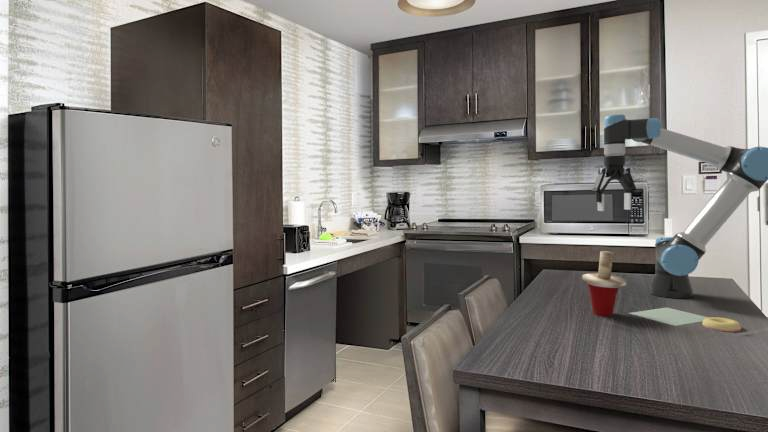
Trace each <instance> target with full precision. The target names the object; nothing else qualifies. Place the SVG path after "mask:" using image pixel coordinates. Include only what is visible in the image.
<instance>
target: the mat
mask: <svg viewBox="0 0 768 432" xmlns="http://www.w3.org/2000/svg"><path fill="white" fill-rule="evenodd" d="M628 314H630V315H633V316H638V317H640V318H645V319H648V320H650V321H651V320H652V321H655V322H659V323H662V324H665V325H666V324H667V325H671V326H674V327H676V326H677V327H678V326H681V325H682V326H683V325H689V324H695V323H700V322H701V323H702V322H703V320H704V319H706V318H710V317H708V316H704V315H700V314H696V313H692V312H688V311H683V310H678V309H674V308H671V307H662V308H661V307H660V308H654V309H647V310H640V311H634V312H633V311H632V312H628Z"/></svg>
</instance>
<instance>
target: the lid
mask: <svg viewBox="0 0 768 432" xmlns="http://www.w3.org/2000/svg"><path fill="white" fill-rule="evenodd" d="M613 257H614V252H612V251H606V250H600V251H599V261H598V272H597V273H584V274H582V275H581V280H582V281H583V282H585V283H587V282H588V283H591V284H596V285H601V286H611V287H619V288H620V287H626V286H627V284H628V283H627V282H628V281H627V279H626V278H623V277H620V276H616V275H612V268H613ZM588 283H587V284H588Z"/></svg>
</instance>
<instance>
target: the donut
mask: <svg viewBox="0 0 768 432" xmlns="http://www.w3.org/2000/svg"><path fill="white" fill-rule="evenodd" d="M701 324H702V326H703V327H704V328H706V329H709V330H714V331H719V332H728V333H729V332H734V333H736V332H740V331H741V330H742V325H741V324H740V323H739V322H738V321H737V320H734V319H731V318H726V317H718V316H717V317H712V316H711V317H709V318H706V319H704V320H703V321H702V322H701Z"/></svg>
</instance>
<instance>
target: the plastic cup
mask: <svg viewBox="0 0 768 432" xmlns="http://www.w3.org/2000/svg"><path fill="white" fill-rule="evenodd" d="M586 283H587V286H588V287H587V288H588V291H589V296H590V304H591V306H592V312H593V314H594V315H595V316H600V317H609V316H610V317H611V316H613V312H614V308H615V305H616V304H615V303H616V299H617V293H618V291H619V288H620V287H611V286H601V285H596V284H591V283H588V282H586Z"/></svg>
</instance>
